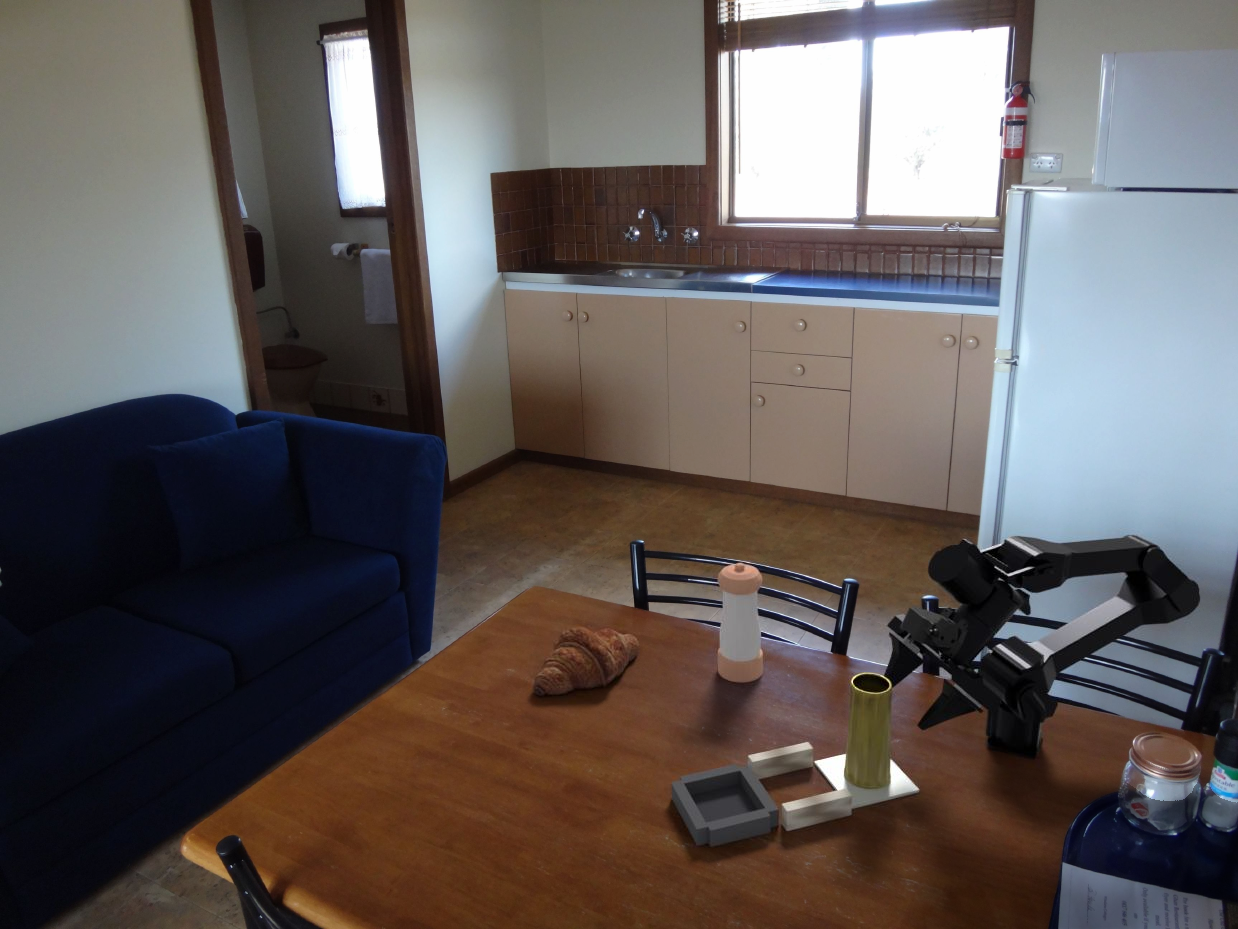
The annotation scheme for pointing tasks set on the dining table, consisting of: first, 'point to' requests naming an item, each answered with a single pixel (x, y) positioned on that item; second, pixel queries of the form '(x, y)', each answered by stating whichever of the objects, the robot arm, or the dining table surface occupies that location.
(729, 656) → the salt shaker
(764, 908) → the dining table surface
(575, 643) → the pastry
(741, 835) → the tray
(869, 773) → the vase
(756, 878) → the dining table surface
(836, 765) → the pad
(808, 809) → the channel
